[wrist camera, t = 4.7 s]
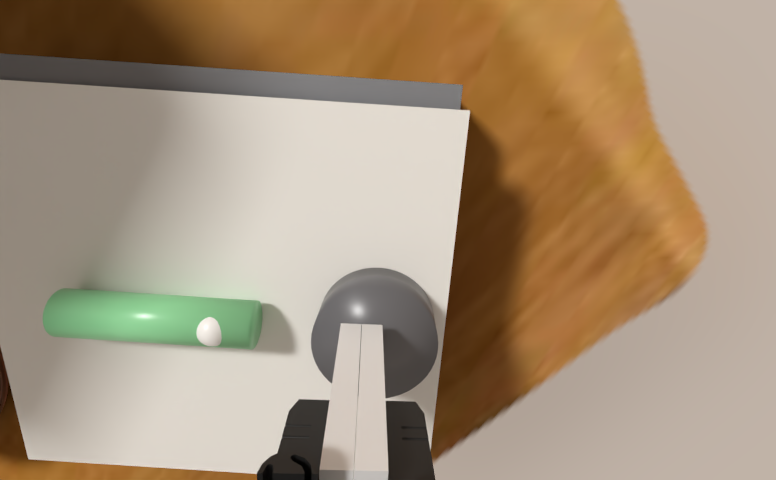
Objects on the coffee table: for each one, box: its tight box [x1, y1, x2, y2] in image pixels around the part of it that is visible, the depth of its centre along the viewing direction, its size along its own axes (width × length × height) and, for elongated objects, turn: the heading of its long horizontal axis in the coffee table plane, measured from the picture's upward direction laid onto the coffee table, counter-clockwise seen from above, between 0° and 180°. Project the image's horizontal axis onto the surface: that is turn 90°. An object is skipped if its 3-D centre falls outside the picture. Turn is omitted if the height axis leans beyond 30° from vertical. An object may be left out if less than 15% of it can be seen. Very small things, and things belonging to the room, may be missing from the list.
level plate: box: [0, 80, 470, 474], centre depth 18 cm, size 20×18×4 cm
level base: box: [0, 53, 463, 110], centre depth 22 cm, size 20×20×4 cm
